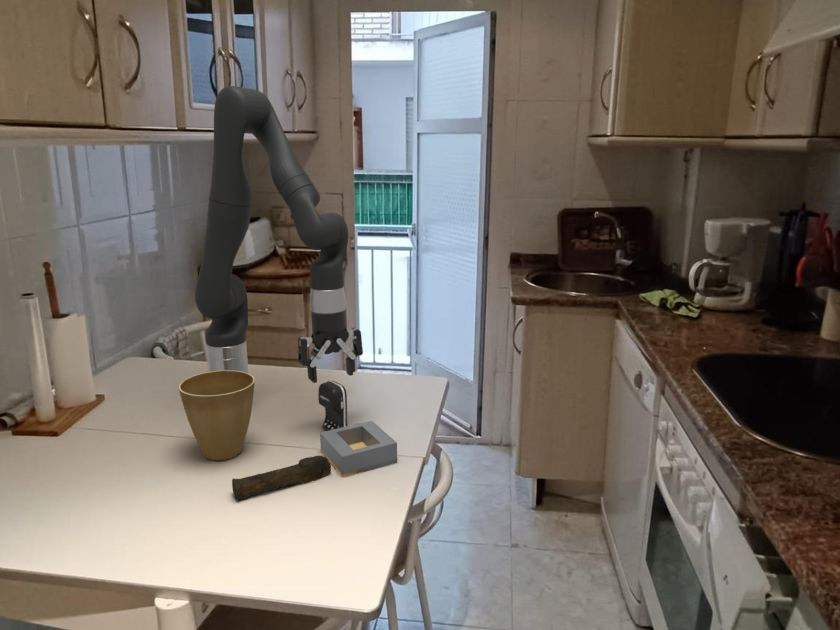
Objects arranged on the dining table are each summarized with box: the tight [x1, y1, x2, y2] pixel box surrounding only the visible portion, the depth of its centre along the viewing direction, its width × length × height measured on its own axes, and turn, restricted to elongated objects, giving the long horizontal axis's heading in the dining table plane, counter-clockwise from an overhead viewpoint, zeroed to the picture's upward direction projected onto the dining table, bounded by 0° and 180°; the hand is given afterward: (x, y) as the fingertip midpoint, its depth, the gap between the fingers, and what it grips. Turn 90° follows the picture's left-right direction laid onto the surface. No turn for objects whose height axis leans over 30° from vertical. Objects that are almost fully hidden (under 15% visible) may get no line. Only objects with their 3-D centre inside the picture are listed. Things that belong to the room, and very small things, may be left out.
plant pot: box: [178, 370, 256, 461], centre depth 132 cm, size 15×15×16 cm
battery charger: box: [318, 380, 348, 431], centre depth 142 cm, size 7×4×11 cm, turn 41°
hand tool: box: [231, 455, 332, 502], centre depth 120 cm, size 19×4×5 cm, turn 116°
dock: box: [319, 420, 398, 478], centre depth 131 cm, size 12×12×4 cm
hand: (332, 378), depth 140 cm, fingers open, 8 cm apart
